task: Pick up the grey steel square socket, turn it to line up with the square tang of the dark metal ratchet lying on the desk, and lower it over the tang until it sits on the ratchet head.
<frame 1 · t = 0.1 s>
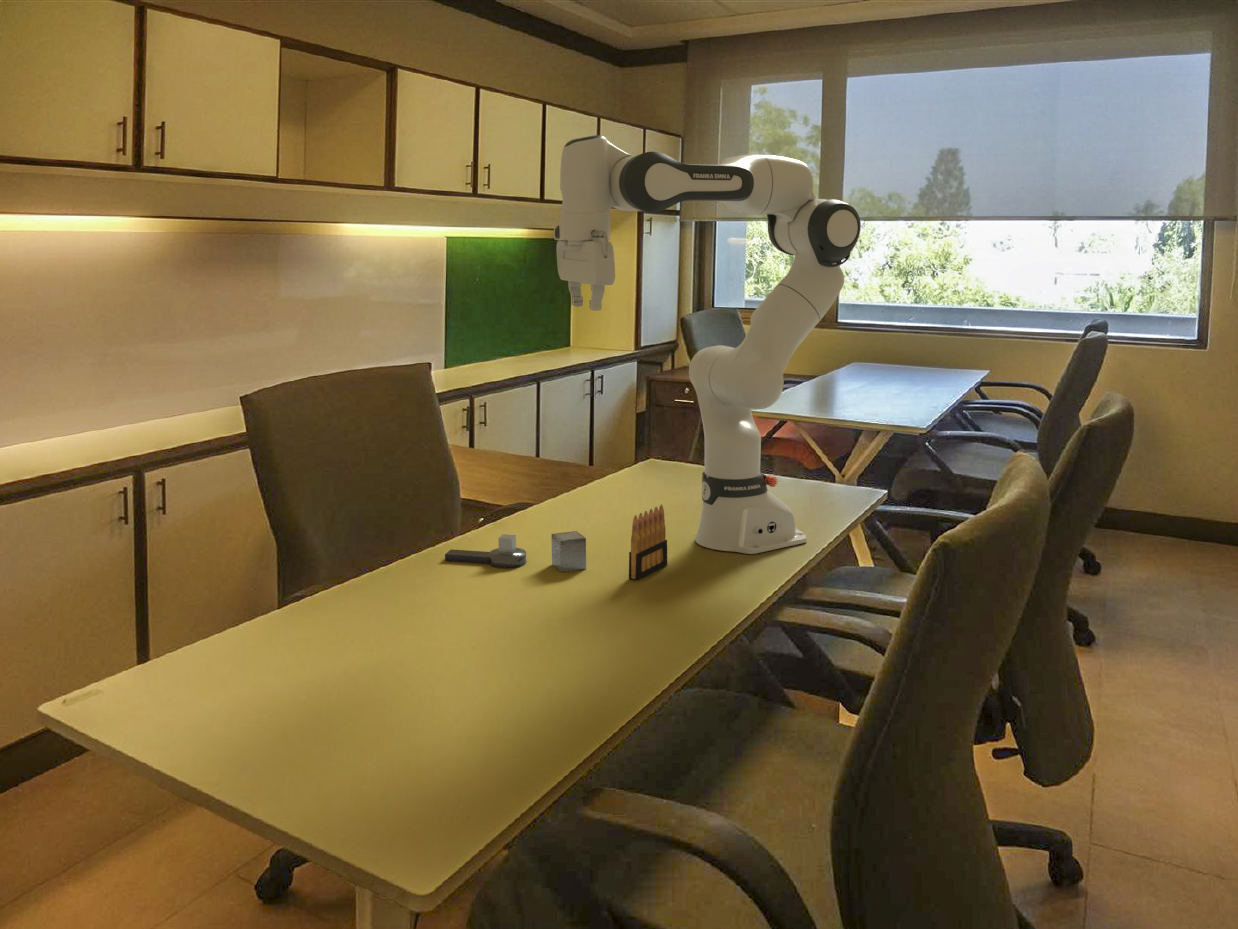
hand: (586, 308, 195), 48 cm above the table, fingers open, 8 cm apart
ratchet: (507, 562, 204), on the table
socket: (568, 566, 201), on the table
ammunition clip: (648, 573, 198), on the table
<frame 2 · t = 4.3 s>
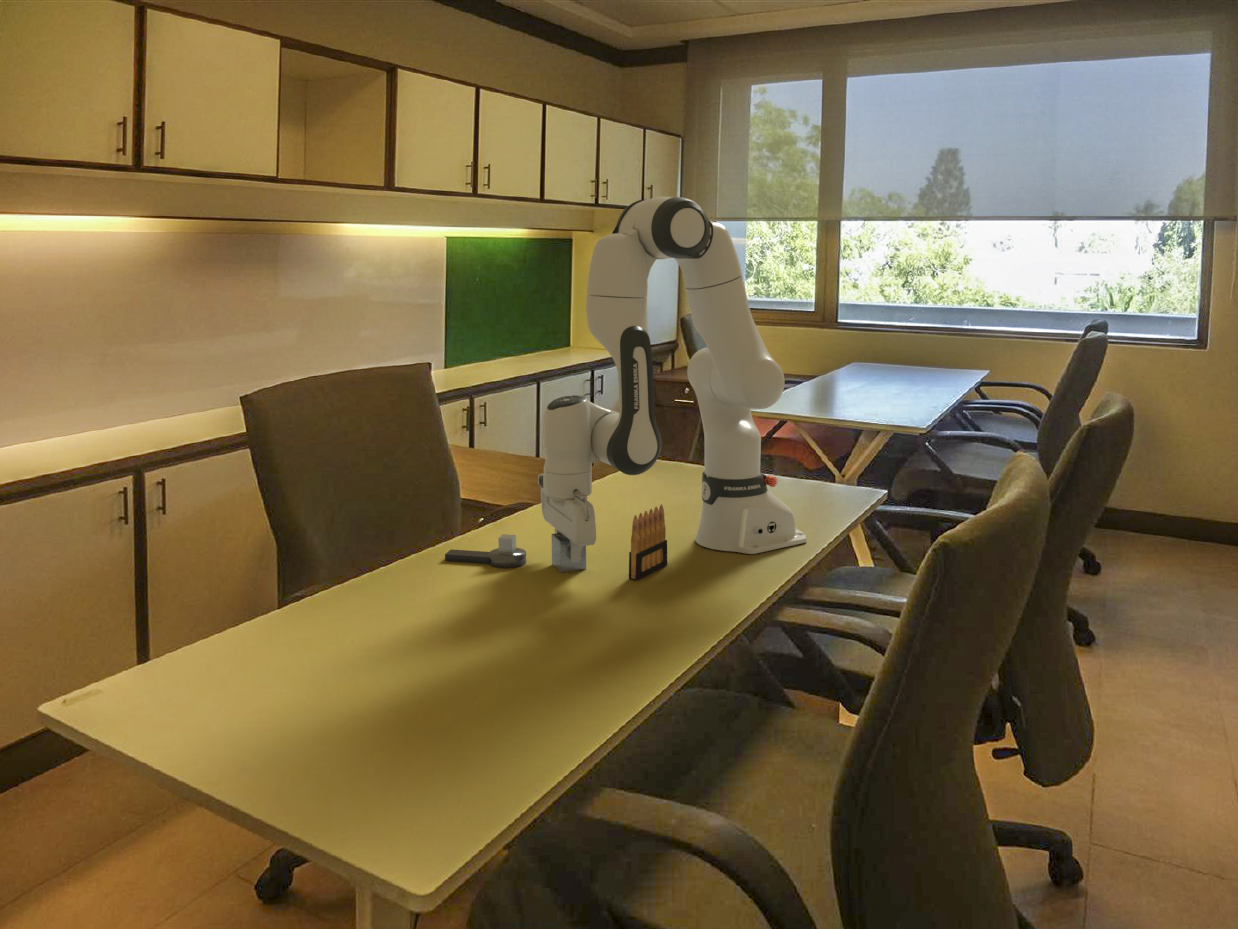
hand: (568, 556, 201), 2 cm above the table, fingers closed on socket, 5 cm apart
socket: (569, 566, 201), on the table, touching gripper
everything else where it was.
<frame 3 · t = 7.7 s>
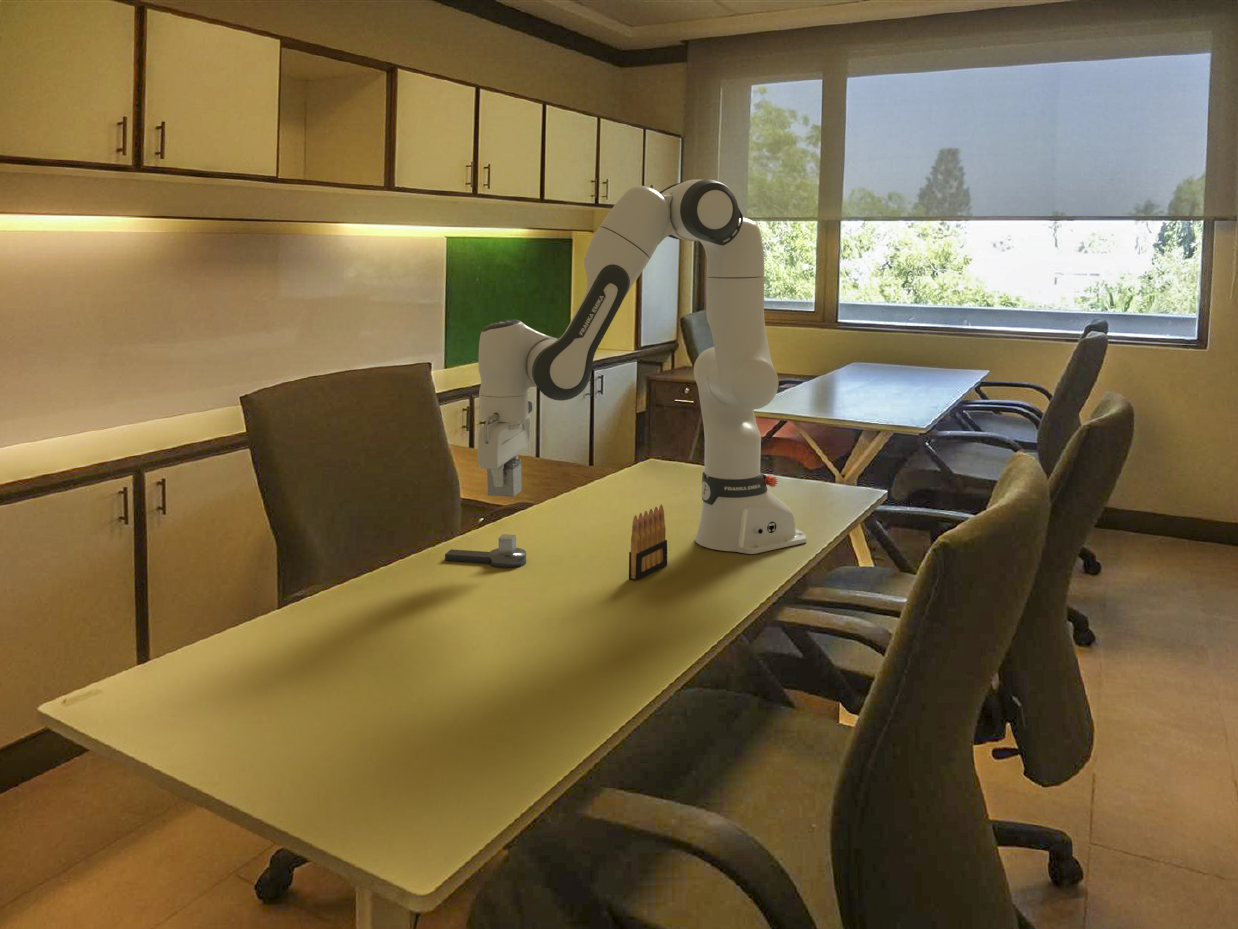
hand: (504, 482, 200), 16 cm above the table, fingers closed on socket, 5 cm apart
socket: (504, 492, 201), point 14 cm above the table, touching gripper
everything else where it was.
when the fingers open (5 cm above the table, at t = 11.3 s): socket stays where it is, resting on ratchet.
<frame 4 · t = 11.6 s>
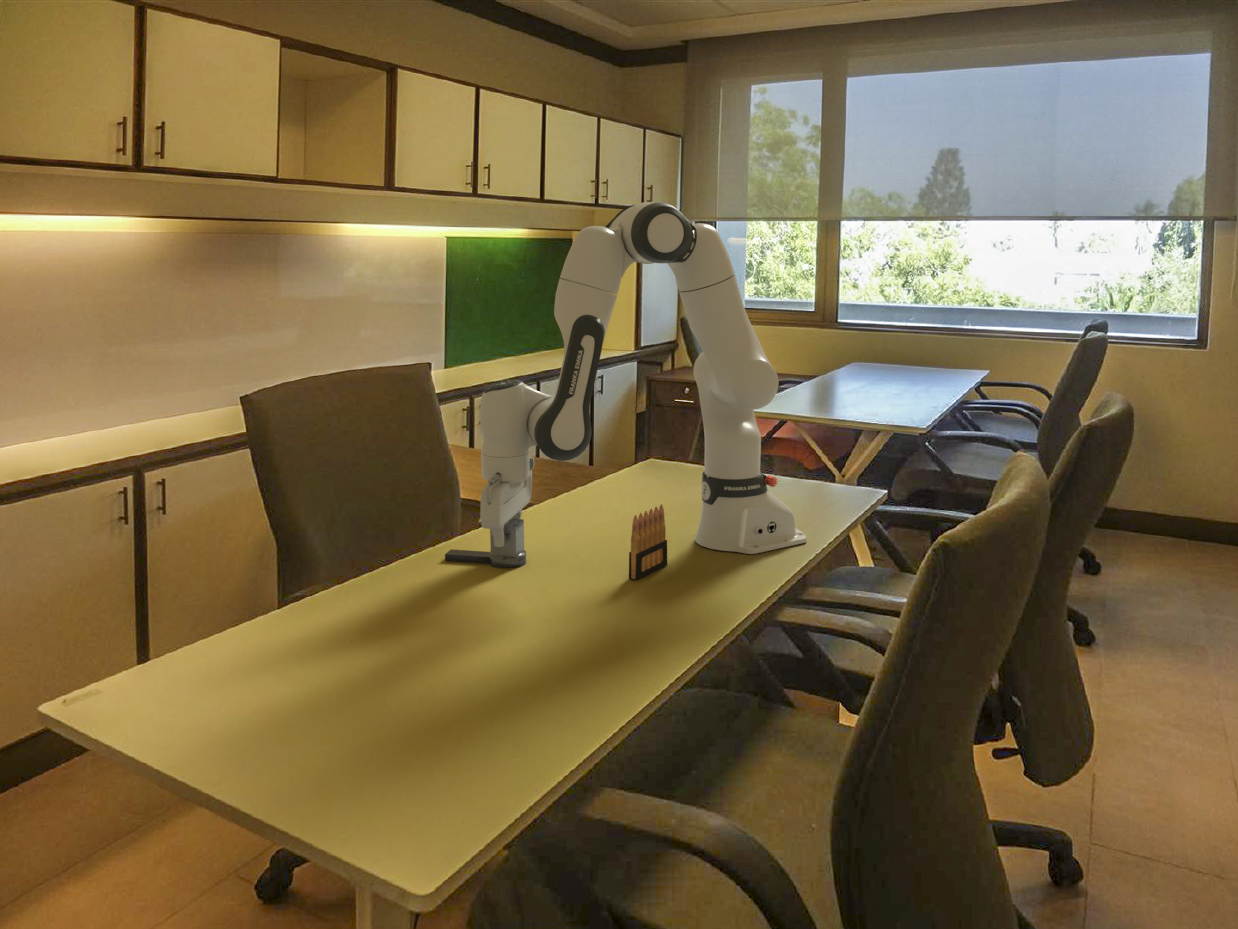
hand: (507, 538, 203), 5 cm above the table, fingers open, 8 cm apart
ratchet: (507, 562, 204), on the table, touching socket
socket: (507, 552, 204), point 2 cm above the table, touching ratchet
everything else where it was.
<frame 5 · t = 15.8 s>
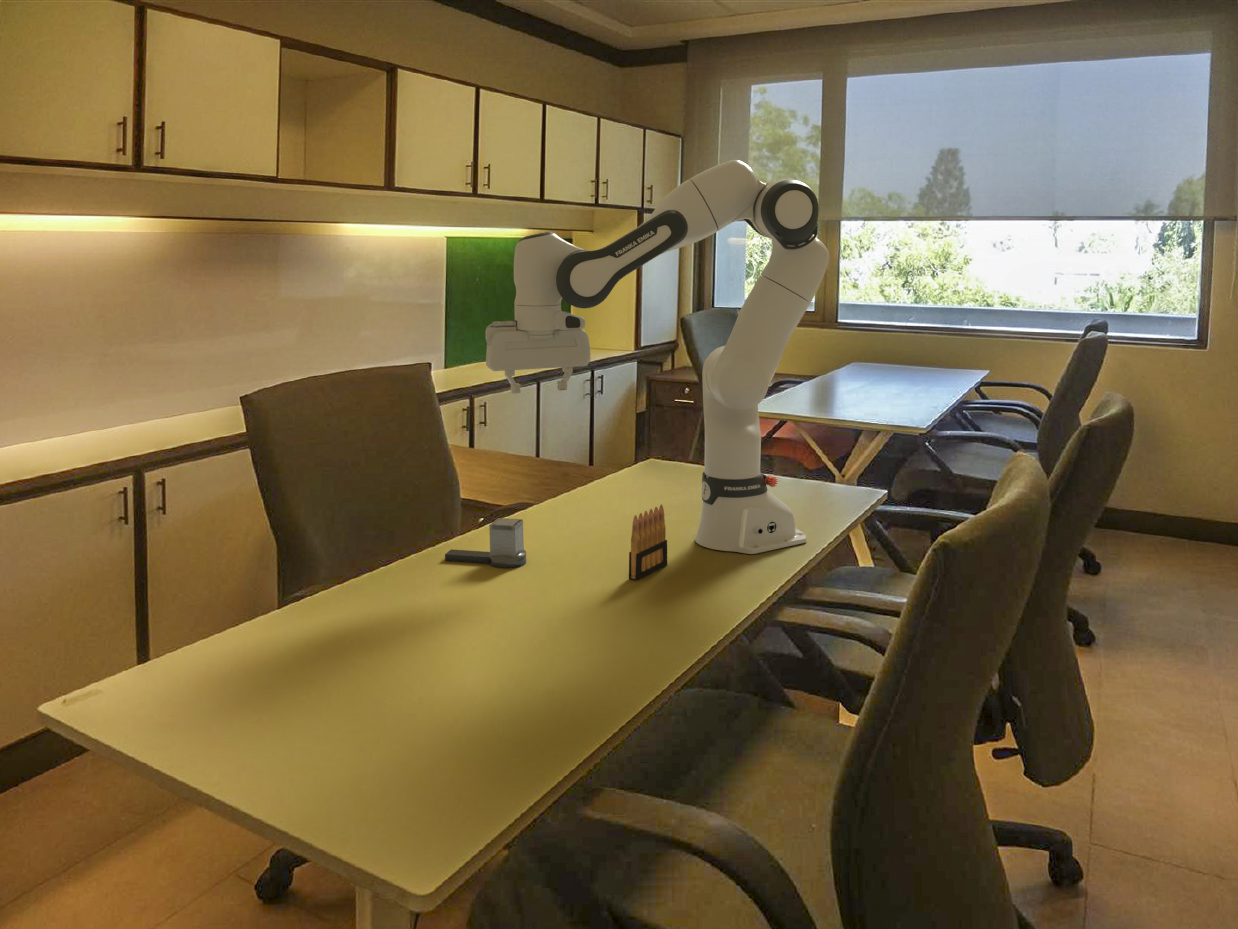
hand: (539, 391, 207), 31 cm above the table, fingers open, 8 cm apart
nothing on the table moved.
at the end: socket 0.1 cm from the ratchet (horizontally); socket point 1.9 cm above the table; socket tilted 0° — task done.
